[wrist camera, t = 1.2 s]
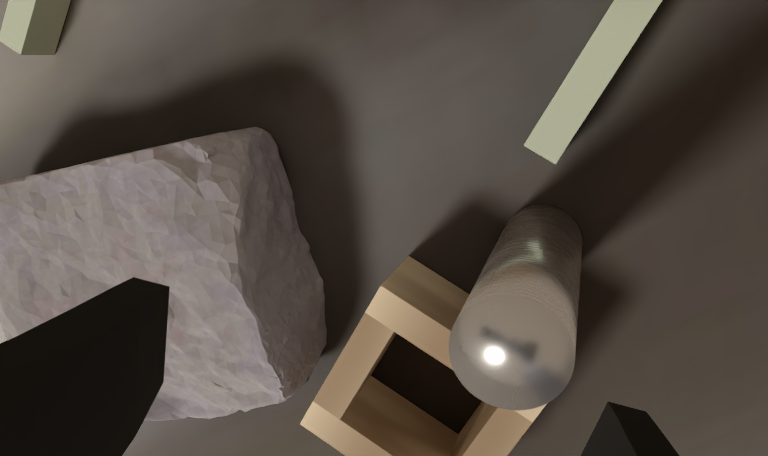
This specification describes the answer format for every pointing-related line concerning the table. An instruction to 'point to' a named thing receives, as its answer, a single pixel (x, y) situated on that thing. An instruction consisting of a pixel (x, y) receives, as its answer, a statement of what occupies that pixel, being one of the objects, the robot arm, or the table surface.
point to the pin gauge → (522, 313)
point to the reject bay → (548, 139)
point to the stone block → (177, 263)
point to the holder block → (386, 407)
